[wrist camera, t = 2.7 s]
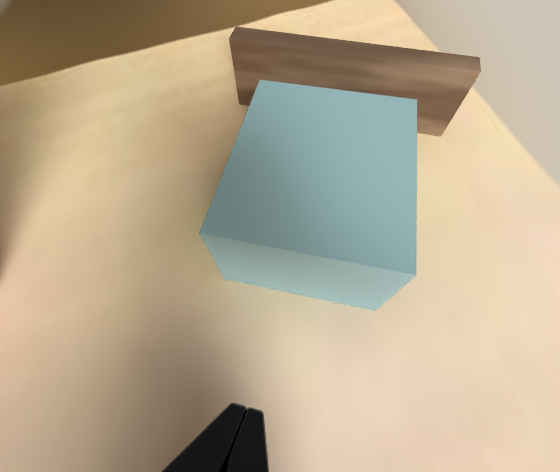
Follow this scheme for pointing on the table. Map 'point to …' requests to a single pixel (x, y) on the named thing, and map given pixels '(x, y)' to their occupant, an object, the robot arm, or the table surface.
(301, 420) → the table surface
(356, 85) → the board
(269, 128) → the block
